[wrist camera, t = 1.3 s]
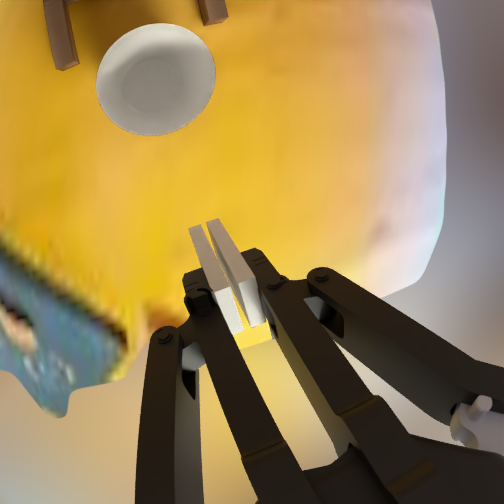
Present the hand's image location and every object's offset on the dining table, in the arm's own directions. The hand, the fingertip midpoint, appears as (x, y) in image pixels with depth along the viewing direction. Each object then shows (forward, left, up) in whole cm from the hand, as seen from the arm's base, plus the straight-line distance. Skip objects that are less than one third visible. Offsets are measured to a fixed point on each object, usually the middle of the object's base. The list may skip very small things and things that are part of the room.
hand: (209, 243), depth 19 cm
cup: (0, +11, -19) cm, 21 cm away
